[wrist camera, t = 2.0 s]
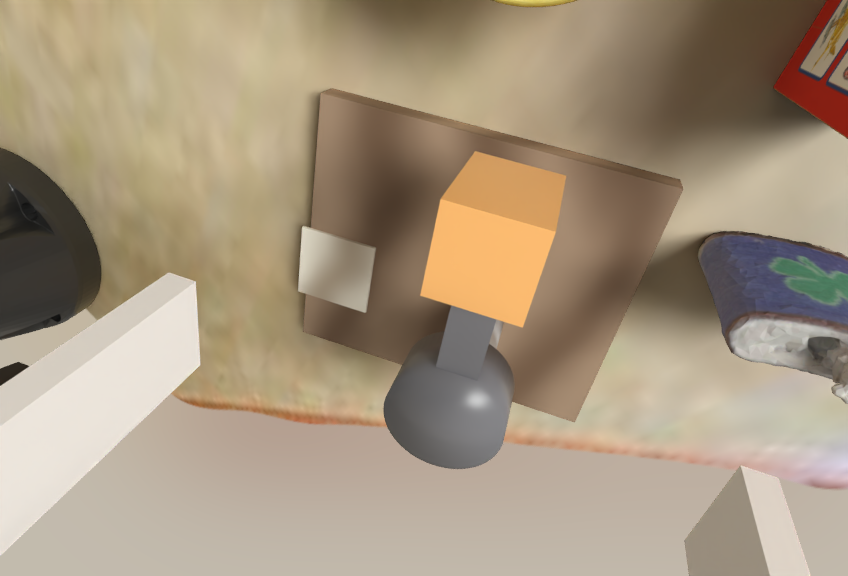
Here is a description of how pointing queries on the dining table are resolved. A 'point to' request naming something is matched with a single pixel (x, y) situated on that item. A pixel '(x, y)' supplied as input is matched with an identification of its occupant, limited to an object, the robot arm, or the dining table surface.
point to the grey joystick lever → (474, 310)
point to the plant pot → (534, 2)
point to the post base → (413, 230)
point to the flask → (781, 302)
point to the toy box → (821, 68)
